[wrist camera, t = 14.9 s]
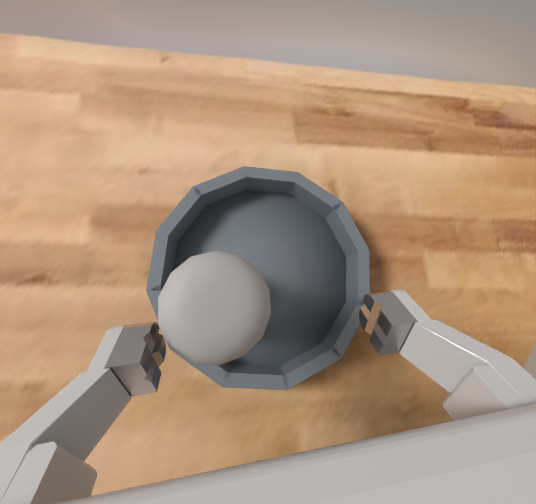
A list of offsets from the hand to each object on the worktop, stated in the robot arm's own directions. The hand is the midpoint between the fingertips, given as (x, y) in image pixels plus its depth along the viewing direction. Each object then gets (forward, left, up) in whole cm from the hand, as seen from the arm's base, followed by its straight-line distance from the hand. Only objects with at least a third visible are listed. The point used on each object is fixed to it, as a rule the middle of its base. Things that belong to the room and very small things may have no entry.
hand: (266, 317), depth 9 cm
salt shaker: (+4, +2, -12) cm, 12 cm away
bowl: (+1, -3, -13) cm, 13 cm away
